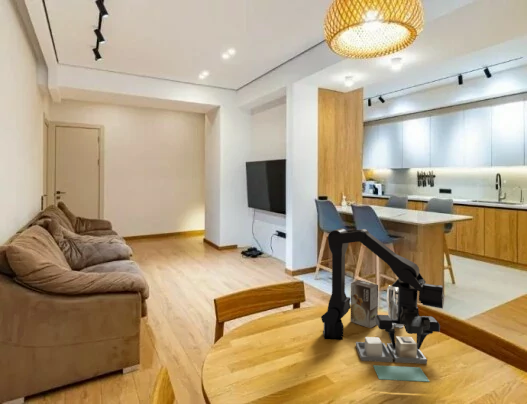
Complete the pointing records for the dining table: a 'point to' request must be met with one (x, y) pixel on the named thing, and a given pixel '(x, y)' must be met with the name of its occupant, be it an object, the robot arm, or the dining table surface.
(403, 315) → the robot arm
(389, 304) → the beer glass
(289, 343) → the dining table surface
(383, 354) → the tray
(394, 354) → the tray
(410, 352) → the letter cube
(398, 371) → the teal mat
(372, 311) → the coffee box
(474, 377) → the dining table surface
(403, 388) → the dining table surface
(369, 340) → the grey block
